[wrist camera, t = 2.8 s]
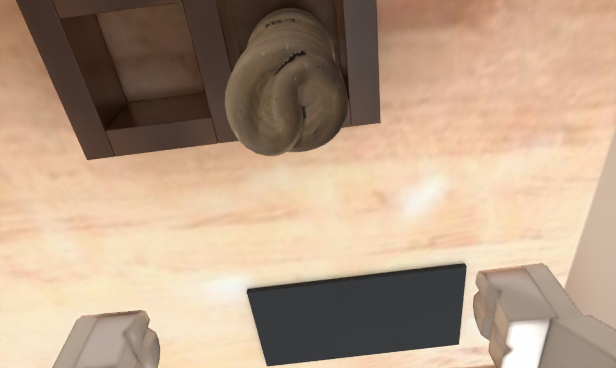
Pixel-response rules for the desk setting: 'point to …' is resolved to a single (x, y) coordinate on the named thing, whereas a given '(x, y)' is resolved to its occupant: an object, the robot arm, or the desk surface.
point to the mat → (359, 315)
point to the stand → (182, 109)
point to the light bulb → (286, 86)
